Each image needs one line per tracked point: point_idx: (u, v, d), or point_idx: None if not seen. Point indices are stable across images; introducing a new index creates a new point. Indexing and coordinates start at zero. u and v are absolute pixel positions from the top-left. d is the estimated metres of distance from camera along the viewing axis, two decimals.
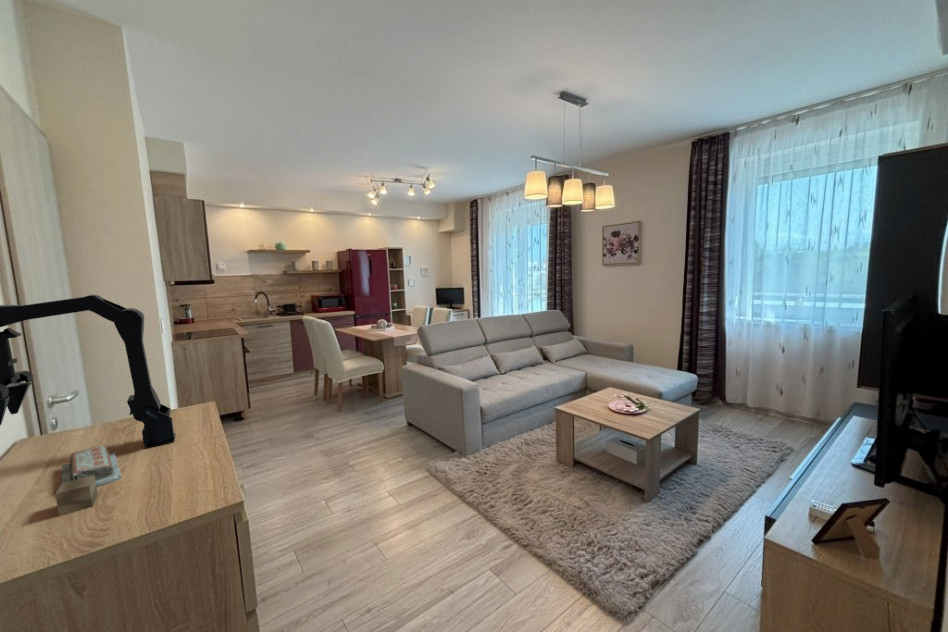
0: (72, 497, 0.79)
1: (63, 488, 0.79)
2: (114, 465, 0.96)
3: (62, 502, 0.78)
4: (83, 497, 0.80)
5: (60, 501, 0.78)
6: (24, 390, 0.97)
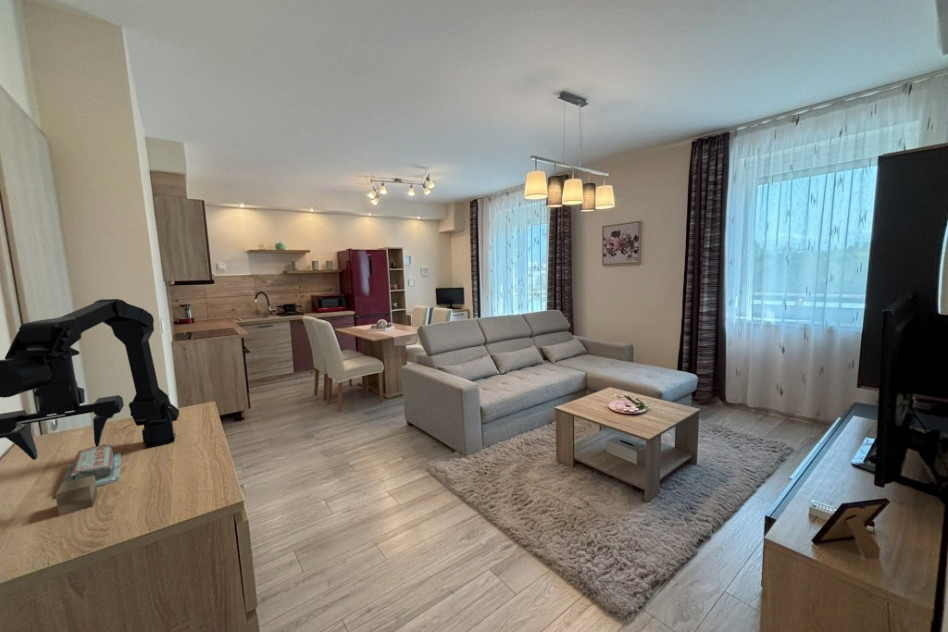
0: (72, 497, 0.79)
1: (64, 488, 0.79)
2: (116, 465, 0.96)
3: (63, 502, 0.78)
4: (83, 497, 0.80)
5: (60, 501, 0.78)
6: (93, 424, 0.80)
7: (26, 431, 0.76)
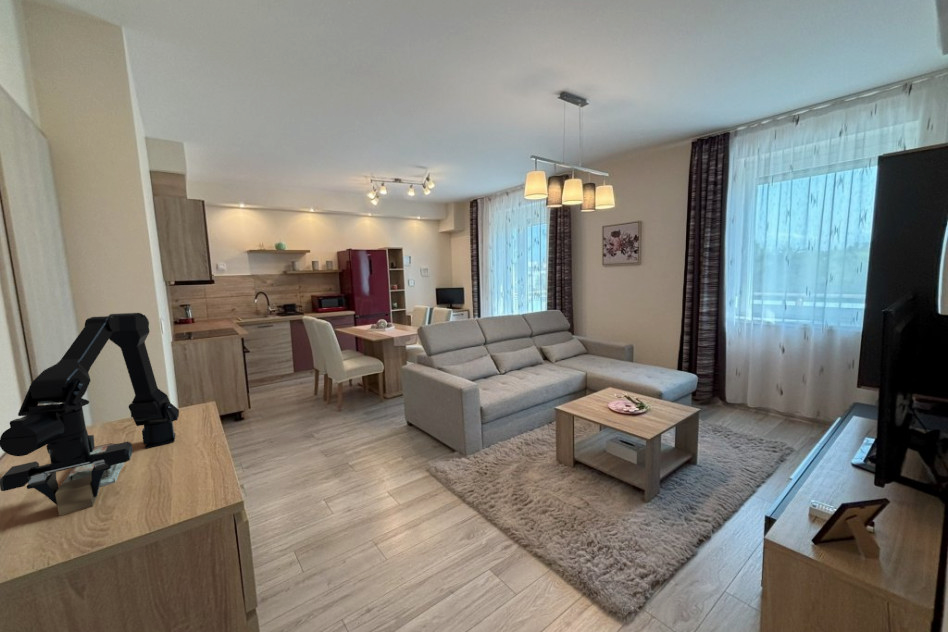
0: (71, 497, 0.79)
1: (63, 488, 0.79)
2: (118, 466, 0.96)
3: (62, 502, 0.78)
4: (83, 496, 0.80)
5: (60, 501, 0.78)
6: None
7: (52, 479, 0.78)
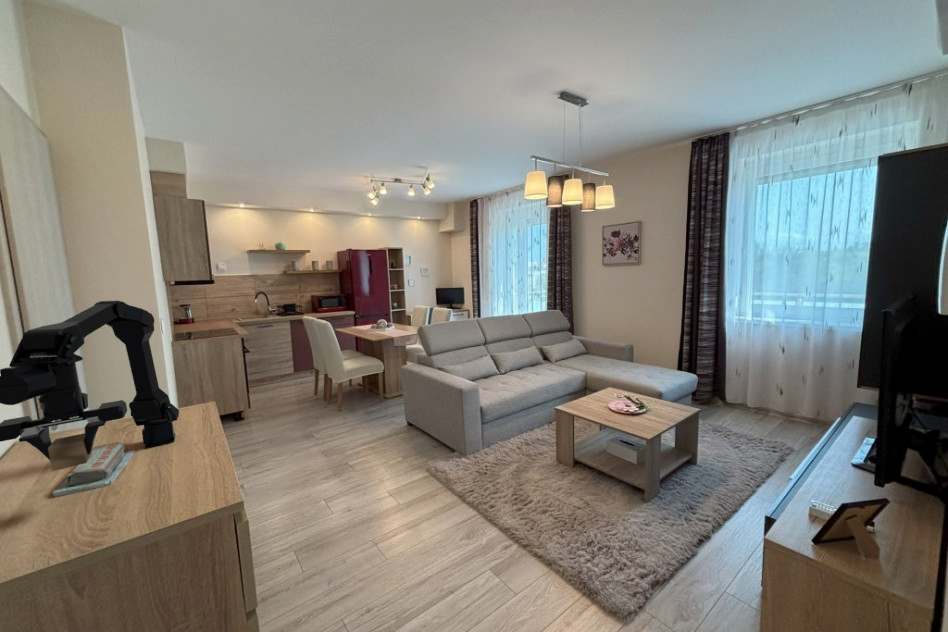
0: (65, 452, 0.78)
1: (57, 443, 0.78)
2: (119, 466, 0.96)
3: (55, 457, 0.77)
4: (76, 452, 0.79)
5: (53, 455, 0.77)
6: None
7: (45, 434, 0.78)
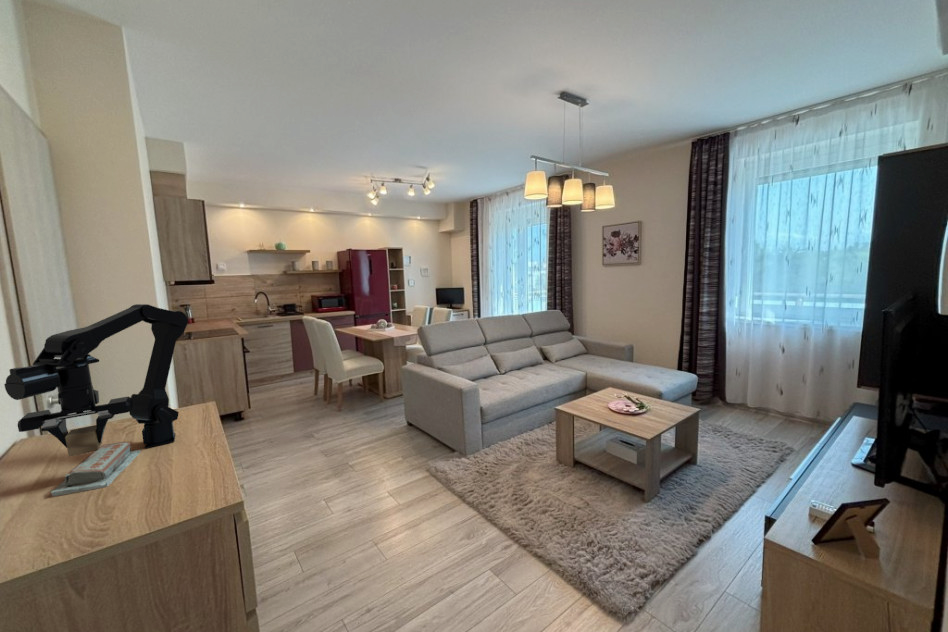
0: (79, 440, 0.90)
1: (72, 433, 0.90)
2: (120, 467, 0.95)
3: (71, 445, 0.89)
4: (89, 441, 0.91)
5: (69, 443, 0.89)
6: (96, 424, 0.92)
7: (63, 425, 0.90)
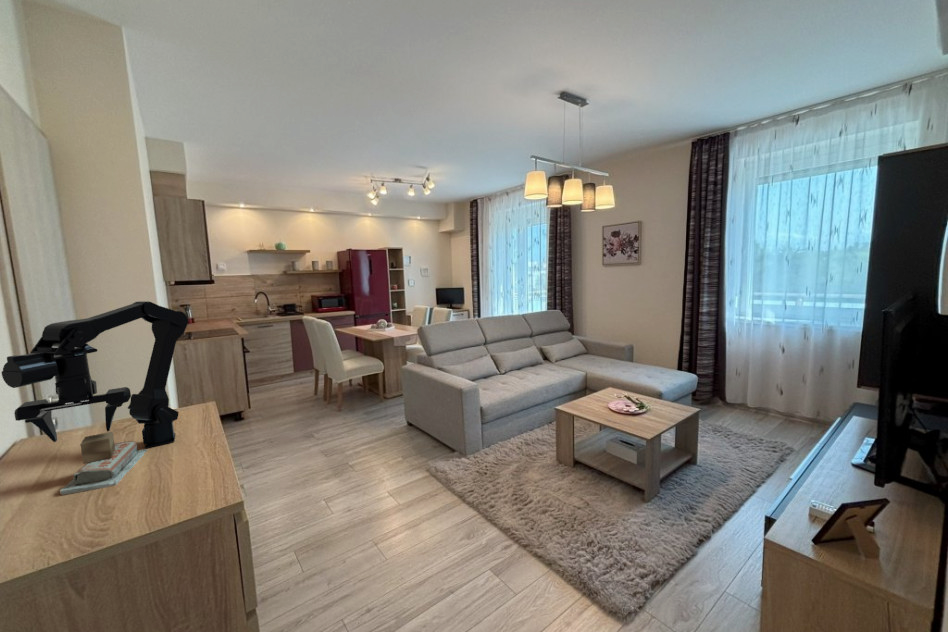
0: (94, 448, 0.91)
1: (87, 440, 0.92)
2: (128, 466, 0.96)
3: (86, 452, 0.90)
4: (103, 448, 0.92)
5: (84, 450, 0.90)
6: (105, 412, 0.92)
7: (48, 417, 0.88)
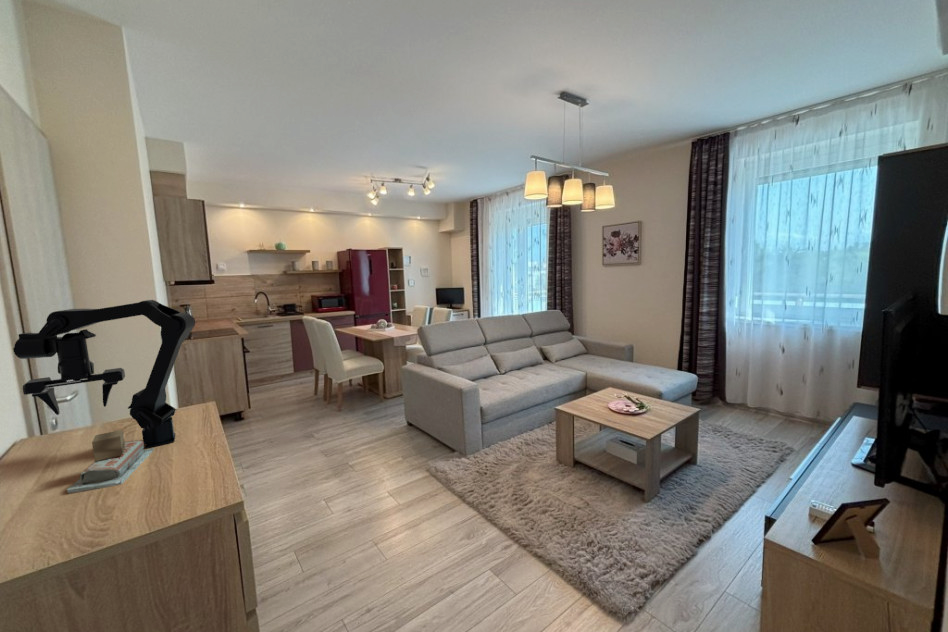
0: (105, 445, 0.92)
1: (98, 438, 0.93)
2: (134, 465, 0.96)
3: (98, 450, 0.91)
4: (114, 446, 0.93)
5: (96, 448, 0.91)
6: None
7: (51, 392, 1.00)
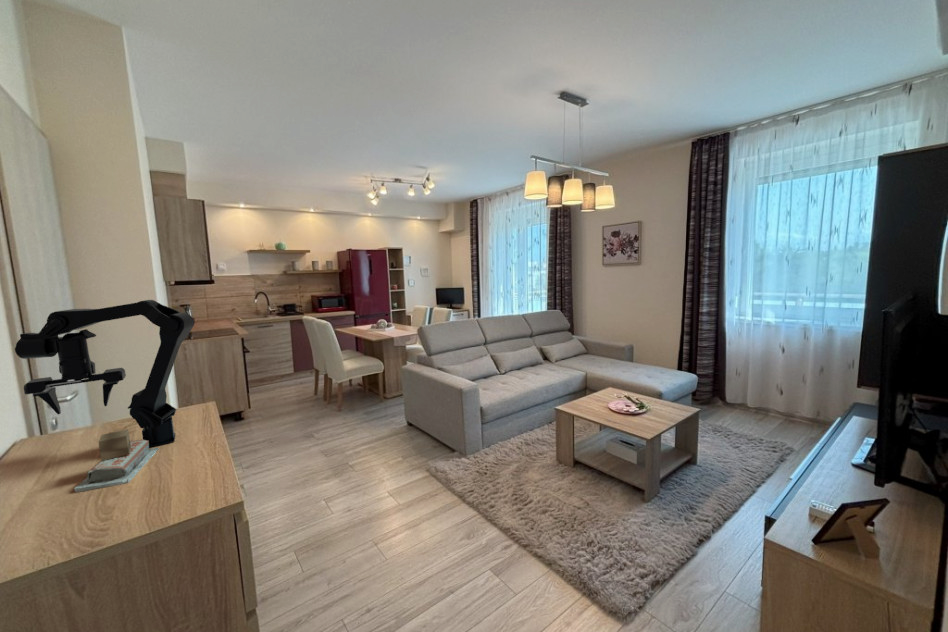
0: (112, 445, 0.93)
1: (104, 438, 0.93)
2: (140, 464, 0.97)
3: (104, 449, 0.92)
4: (121, 445, 0.94)
5: (102, 448, 0.92)
6: None
7: (53, 392, 1.01)
